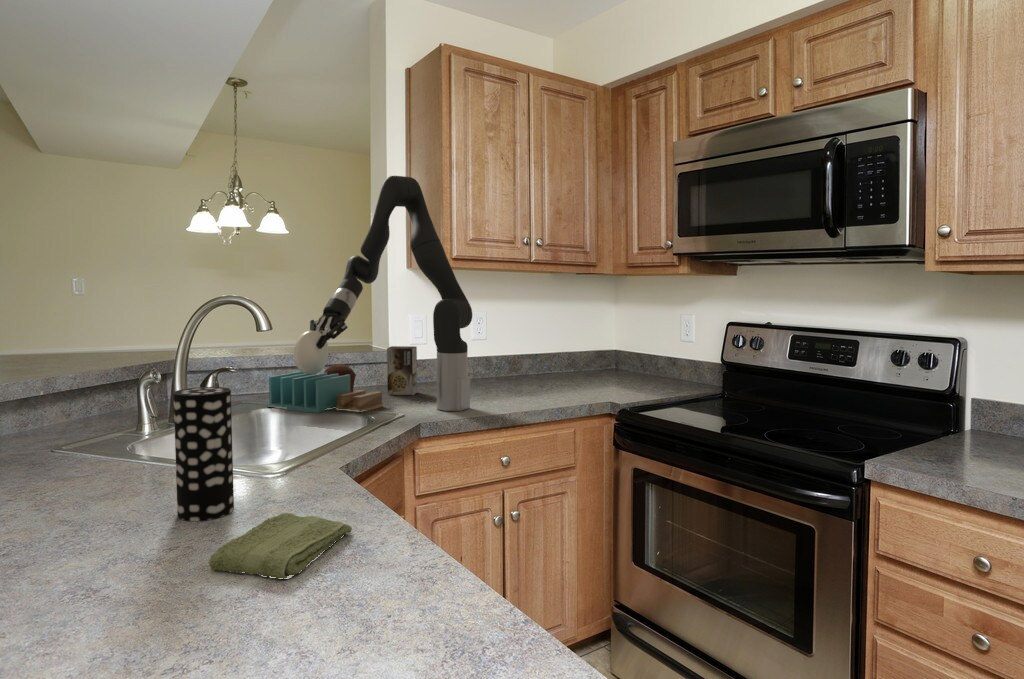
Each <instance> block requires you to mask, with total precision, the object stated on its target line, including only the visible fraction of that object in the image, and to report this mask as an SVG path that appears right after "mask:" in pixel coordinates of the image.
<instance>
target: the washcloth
mask: <svg viewBox="0 0 1024 679" xmlns="http://www.w3.org/2000/svg"><path fill="white" fill-rule="evenodd" d="M352 530H353V528H352V526H351V525H349V524H345V523H344V522H342V521H337V520H330V519H326V518H323V517H319V516H315V515H308V516H299V515H296V514H293V513H292V512H284V513H279V514H278V515H276V516H272V517H270V518H269V517H268V518H267V519H265V520H263V521H262V522H261V523H260V524H257V525H255V526H254V527H252V528H251V529H249V530H248V531H247V532H246V533H244V534H242V535H240V536H237V537H235V538H232V539H231V540H230V541H229V542H227V543H225V544H224V545H222V546H219V547H218V549H217V550H216V551H215V552H214V553H212V554H211V555H210V559H209V560H208V561H209V562H207V563H208V564H209V567H210V570H214V571H215V570H219V571H218V572H225V571H231V572H230V573H232V572H236V573H242V572H245V573H244V574H247V573H252V574H251V575H253V574H260V575H263V576H271V577H276V578H283V579H284V578H287V576H289V575H295V574H297V573H299V572H300V571H301V570H303V569H304V570H306V568H305V567H306V566H307V565H308V564H309V563H310V562H311V561H312V560H314V559H315V558H316V557H318V555H320V553H322V552H323V551H324V550H326V549H328V548H329V546H331V545H332V544H333V543H334V542H335V541H337V540H338V541H340V540H341V539H342V538H341V537H342V536H343V535H345V536H347V534H348V533H351V532H352ZM346 533H347V534H346ZM340 538H341V539H340ZM339 539H340V540H339ZM329 549H330V548H329ZM329 549H328V550H329ZM326 551H327V550H326ZM222 570H223V571H222ZM304 570H303V571H304ZM236 573H235V574H236ZM260 575H259V576H260ZM297 575H298V574H297ZM295 576H296V575H295Z"/></svg>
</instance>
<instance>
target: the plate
mask: <svg viewBox="0 0 1024 679" xmlns="http://www.w3.org/2000/svg"><path fill="white" fill-rule="evenodd" d="M321 336H323V334H322V333H320V332H318V331H310V330H307V331H303V333H301V334H300V335H299V336H298V338H297V339H296V342H295V344H294V348H293V360H294V363H295V367H296V368H297V369H298V370H299V372H300V371H301V372H303V373H305V374H320V372H321V371H322V370H323V369H324V368H325V366H326V364H327V362H328V358H329V345H328V341H327V342H326V343H325V345H324V346H323V347H322V349H319V348H318V347H317V346H316V344H317V342H318V340H319V339H320V337H321Z"/></svg>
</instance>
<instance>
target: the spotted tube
mask: <svg viewBox="0 0 1024 679" xmlns="http://www.w3.org/2000/svg"><path fill="white" fill-rule="evenodd" d="M172 395H173V419H174V424H173V425H174V446H175V447H174V448H175V449H174V450H175V451H174V452H175V455H174V456H175V473H176V474H175V479H176V507H177V508H176V510H177V513H176V514H177V518H178V519H180V520H181V521H186V522H187V521H188V522H203V521H211V520H216V519H220V518H222V517H225V516H227V515H229V514H231V513H232V512H234V510H235V502H234V500H235V498H234V496H235V495H234V465H233V464H234V461H233V423H232V420H233V418H232V389H231V388H229V387H222V386H203V387H201V386H200V387H192V388H191V387H190V388H183V389H179V390H176V391H174V392H173V394H172Z"/></svg>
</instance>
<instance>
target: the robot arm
mask: <svg viewBox="0 0 1024 679" xmlns="http://www.w3.org/2000/svg"><path fill="white" fill-rule="evenodd" d="M396 207H400V208H401V207H402V208H403V207H404V208H405V209H406V211H407V213H408V216H409V218H410V222H411V232H410V233H411V234H410V241H409V242H410V250H411V252H412V254H413V257H414V259H415V262H416V265H417V266H418V268H419V270H420V271H421V272H422V273H423V275H424V276H425V277H426V279H428V280H429V281H430V282H431V284H432V285H433V286H434V287H435V288H436V290H437V292H438V293H439V295H440V298H441V299H440V300H439V301H438V302H437V303H436V304H435V306H434V310H433V313H432V319H433V320H432V321H433V323H432V324H433V326H432V327H433V340H434V343H435V346H436V409H437V410H439V411H446V412H447V411H448V412H452V411H454V412H462V411H465V410H467V409H469V408H470V407H471V377H470V376H468V347H469V346H468V343H467V342H466V341H464V340H463V339H462V337H461V329H464V328H468V326H469V325H471V322H472V320H473V310H472V307H471V303H470V302H469V300H468V298H467V297H466V295H465V293H464V291H463V289H462V288H461V286H460V283H459V282H458V279H457V277H456V276H455V273H454V271H453V268H452V265H451V264H450V262H449V259H448V256H447V254H446V252H445V248H444V247H443V244H442V242H441V240H440V237H439V235H438V234H437V231H436V229H435V226H434V223H433V221H432V218H431V215H430V214H429V209H428V206H427V203H426V201H425V197H424V193H423V190H422V187H421V185H420V183H419V181H417V180H416V178H413V177H411V176H405V175H404V176H403V175H389V176H388V177H387V178H385V180H384V181H383V184H382V185H381V188H380V191H379V195H378V199H377V203H376V205H375V209H374V213H373V217H372V221H371V224H370V227H369V229H368V232H367V234H366V235H365V237H364V240H363V242H362V244H361V247H360V250H359V251H360V254H361V255H362V256H363V257H362V256H360V255H353V256H351V257H350V258H349V259H348V261H347V263H346V266H345V272H344V275H343V278H342V281H341V282H340V284H339V286H338V287H337V289H336V290H335V291H334V292H333V293H332V295H331V297H330V298H329V300H328V301H327V303H326V305H325V306H324V308H323V310H322V315H321V316H320V317H319V318H318V319H317V320H314V319H311V320H310V321H309V331H318V332H320V333H322V334H323V336H321V337H320V339H319V340H318V342H317V344H316V346H317V347H318V348H319V349H322V347H323V346H324V345H325V343H326V342H327V343H328V341H329V340H331V339H332V340H334V339H336V338H337V337H338V336H340V335H341V334H342V333H343V332H344V331H346V330H347V329H348V325H347V323H346V320H347V319H348V317H349V316H350V314H351V312H352V310H353V309H354V307H355V305H356V302H357V301H358V298H360V295H361V293H362V292H363V289H364V286H363V284H362V283H364V284H367V285H369V284H372V283H374V282H375V281H376V280H377V278H378V275H379V271H380V270H379V269H380V268H379V267H380V263H381V262H380V261H381V258H382V256H383V255H382V254H383V253H384V251H385V249H386V247H387V245H388V243H389V240H390V217H391V215H392V212H393V211H394V209H395V208H396ZM365 258H366V259H365ZM361 282H362V283H361Z"/></svg>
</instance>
